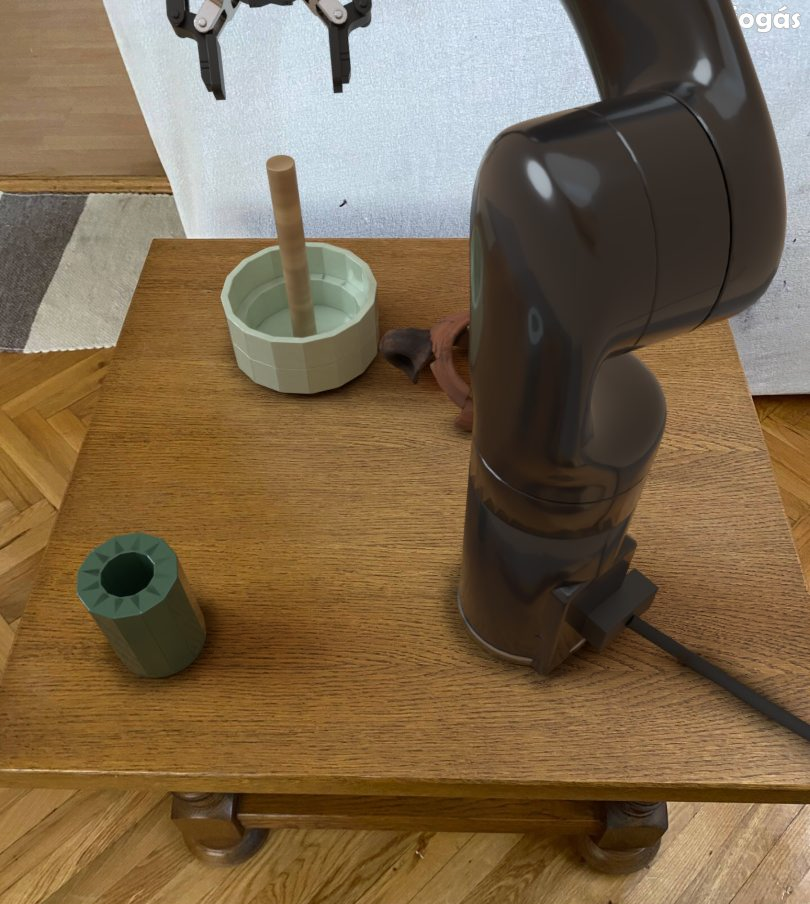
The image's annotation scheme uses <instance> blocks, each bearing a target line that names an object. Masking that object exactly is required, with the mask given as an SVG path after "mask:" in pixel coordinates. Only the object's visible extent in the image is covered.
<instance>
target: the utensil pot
mask: <svg viewBox="0 0 810 904" xmlns="http://www.w3.org/2000/svg"><path fill="white" fill-rule="evenodd" d="M76 596H77V597H78V599H79V601H80V602H81V603H82V605H83V606H84V608H85V609H86V611H87V613H88V614H89V615H90V617H91V618H92V620H93V621H94V623H95V624H96V627H98V629H99V630H100V632H101V633H102V635H103V636H104V638H105V639H106V641H107V642H108V644H109V645H110V647H111V648H112V650H113V651H114V653H115V654H116V655H117V657H118V658H119V659H120V661H121V662H122V664H123V665H124V667H125V668H126V669H128V670H129V671H130V672H132V673H133V674H135V675H137V676H141V677H144V678H150V679H158V678H159V679H160V678H165V677H169V676H172V675H175V674H177V673H180V672H182V671H183V670H185V669H186V668H188V667H189V666H190V665H191V664H192V663H194V662H195V661H196V659H197V658H198V657H199V655H200V653H201V652H202V650H203V648H204V646H205V643H206V639H207V626H206V622H205V617H204V615H203V611H202V609H201V607H200V604H199V603H198V600H197V598H196V595H195V593H194V591H193V589H192V586H191V583H190V582H189V579H188V577H187V575H186V573H185V571H184V568H183V566H182V564H181V561H180V560H179V556H178V555H177V553H176V552H175V551H174V550H173V549H172V547H171V546H170V545H169V544H168V543H167V541H166V540H165V539H164V538H162V537H158V536H155V535H152V534H148V533H144V532H140V531H138V532H133V533H127V534H119V535H114V536H112V537H111V538H109V539H108V540H106V541H104V542H102V543H101V544H99V545H98V546H96V547H94V548H92V549H91V550H90V552H89V553H88V555H87V556H86V557H85V559H84V561H83V562H82V563H81V565H80V567H79V568H78V569H77V573H76Z"/></svg>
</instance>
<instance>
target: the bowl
mask: <svg viewBox="0 0 810 904" xmlns="http://www.w3.org/2000/svg"><path fill="white" fill-rule="evenodd" d="M305 244H306V252H307V259H308V267H309V275H310V282H311V290H312V298H313V306H314V313H315V321H316V329H317V335H313V336H309V337H304V338H296V337H293V331H292V324H291V318H290V312H289V306H288V300H287V293H286V287H285V281H284V275H283V269H282V262H281V256H280V250H279V244H278V245H272V246H268V247H266V248H263V249H261V250H259V251H258V252H255V253H253V254H251V255H250V256H247V257H246V258H244V259H242V260H241V261H240V262H239V263H238V265H236V266H235V267H234V269H232V271H231V272H230V273H228V275H227V276H226V278H225V281H224V284H223V287H222V291H221V294H220V301H221V305H222V309H223V314H224V318H225V321H226V326H227V329H228V330H227V331H228V333H229V338H230V342H231V347H232V350H233V353H234V356H235V360H236V363H237V366H238V369H240V370H241V371H242V372H243V373H244V374H245V375H246V376H247V377H249V379H250V380H252V381H253V382H254V383H255V384H258V385H260V386H263V387H266V388H268V389H271V390H274V391H276V392H279V393H282V394H283V393H285V394H286V393H287V394H306V395H307V394H308V395H310V394H311V395H312V394H317V393H320V392H324V391H328V390H332V389H333V390H334V389H337V388H340V387H342V386H344V385H346V384H347V383H348V382H350V381H352V380H354V379H356V378H357V377H358V376H360V375H362V374H364V372H365V371H366V369H367V368H368V367H369V366H370V364H371V363H372V362H373V361H374V359H375V358H376V357H377V355H378V349H379V343H380V316H379V315H380V314H379V313H380V312H379V296H378V294H379V293H378V282H377V280H376V278H375V276H374V274H373V272H372V269H371V267H370V265H369V264H368V263H367V262H366V261H364V260H363V259H361V258H360V257H359V256H358V255H356V254H354V253H353V252H352V251H351V250H349V249H346V248H343V247H340V246H336V245H333V244H330V243H327V242H318V241H317V242H313V241H312V242H311V241H305Z"/></svg>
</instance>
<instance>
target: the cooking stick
mask: <svg viewBox="0 0 810 904" xmlns="http://www.w3.org/2000/svg"><path fill="white" fill-rule="evenodd" d="M296 167H297V166H296V161H295V159H294V157H292V156H290V155H287V154H277V155H273V156H271V157H269V158H268V159H267V160H266V162H265V168H266V175H267V181H268V186H269V187H268V188H269V194H270V200H271V205H272V211H273V219H274V224H275V230H276V236H277V243H278V245H279V250H280V256H281V262H282V269H283V275H284V281H285V287H286V293H287V300H288V306H289V312H290V318H291V324H292V331H293V337H296V338H304V337H309V336H313V335H317V329H316V321H315V313H314V306H313V298H312V290H311V282H310V275H309V267H308V259H307V252H306V244H305V242H306V237H305V230H304V223H303V213H302V206H301V200H300V192H299V191H300V190H299V182H298V175H297V168H296Z"/></svg>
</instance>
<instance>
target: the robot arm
mask: <svg viewBox="0 0 810 904" xmlns="http://www.w3.org/2000/svg"><path fill="white" fill-rule="evenodd" d="M296 1H297V0H204V1H203V3H202V4H201V6H200V8H199V9H198V12H197V13H194V12H192V11H191V6H190V0H165V12H166V18H167V20H168V22H169V24H170V26H171V28H172V31H174V34H175V36H176V37H178V38H180V39H187V38H188V39H190V40H193V41H195V42H196V44H197V53H198V59H199V60H198V61H199V62H198V63H199V69H200V78H201V80H202V82H203V84H204V87H205V89H206V90H207V92H208V93H212V94H213V97H214V98H215V101H227V94H226V93H227V92H226V85H225V76H224V67H223V58H222V48H221V44H220V42H219V39H220V36H221V34H222V33H223V31H224V29H225V27H226V26H227V24H228V23H229V22H231V21H232V20H233V18H234V17H235V15H236V13H237V11H238V9H239V8H240V6H241V4H242V3H243V4H245V5H248V7H249V9H255V8H256V9H257V8H262V7H265V6H268V5H276V6H281V7H290V6H294V2H296ZM301 1H302V2H303V3H304V4H305V5H306V7H307V8H308V9H309V11H310V12H311V14H313V15H314V16H315V17H317V18H318V19H319V20H320V22H321V23H323V25H324V27H326V28H327V32H328V33H327V34H328V46H329V56H330V58H329V59H330V68H331V69H330V71H331V81H332V91H333V94H343V93H344V85H349V84H350V81H351V78H352V66H351V65H352V64H351V63H352V62H351V53H350V42H349V37H350V34H351V33H352V32H353V31H355V30H357V29H359V28H362V29H365V28H368V27H369V26H370V24H371V23H372V9H373V0H351V1H350V2H347V3H346V4H343V3H341V1H340V0H301ZM558 1H559V3H560V5H561V7H562V8H563V10H564V11H565V13H566V16H567V18H568V20H569V22H570V24H571V26H572V28H573V30H574V32H575V34H576V36H577V39H578V41H579V43H580V47H581V49H582V52H583V54H584V56H585V60H586V62H587V64H588V67H589V70H590V73H591V75H592V79H593V82H594V84H595V88H596V91H597V95H598V97H599V101H596V102H592V103H587V104H584V105H580V106H575V107H572V108H566V109H563V110H559V111H556V112H552V113H548V114H544V115H539V116H535V117H532V118H529V119H526V120H525V119H524V120H522V121H519V122H517V123H515V124H511V125H510V126H508V127H505V128H504V129H503V130H501V131H500V132H498V133H497V135H495V137H494V138H493V139H492V140H491V142H489V144H488V147H487V148H486V150H485V152H483V155H482V157H481V160H480V163H479V165H478V167H477V170H476V175H475V179H474V184H473V188H472V192H471V193H472V194H471V203H470V213H469V238H468V239H469V240H468V243H469V247H468V248H469V249H468V251H469V253H468V254H469V255H468V257H469V258H468V259H469V310H470V323H469V326H468V328H469V349H468V369H469V371H468V372H469V379H470V387H471V393H472V394H471V395H472V396H471V397H472V398H473V405H474V418H473V429H472V430H471V441H470V443H471V444H470V452H469V453H470V454H469V464H468V474H467V475H468V476H467V488H466V502H465V512H464V513H465V514H464V525H463V536H462V547H461V549H462V550H461V558H460V559H461V561H460V574H459V575H460V576H459V579H458V580H459V581H458V584H457V593H456V604H457V605H456V606H457V607H456V608H457V611H458V616H459V619H460V621H461V624H462V626H463V628H464V630H465V631H466V633H467V634H468V635H469V637H470V638H471V639H472V641H473V642H474V643H475V644H476V645H478V646H479V647H480V648H481V649H483V650H484V651H485V652H487V653H488V654H490V655H491V656H493V657H495V658H497V659H499V660H502V661H504V662H507V663H511V664H515V665H522V666H529V667H532V668H533V669H535V670H536V671H537V673H539V674H540V675H541V676H548V675H549V674H550V673H552V672H553V671H554V670H555V669H556V668H557V667H559V666H560V664H562V663H563V662H564V661H565V660H566V659H567V658H569V657H570V656H572V655H574V654H575V653H576V652H577V651H578V650H580V649H581V648H582V647H583V646H584V645H585V644H586V643H589V644H590V645H591V646H592V647H593V648H594V649H596V650H597V652H601V651H603V650H604V649H605V648H606V647H607V646H608V645H609V644H610V643H612V642H614V640H615V639H617V637H619V636H620V635H621V634H622V633H623V632H624V631H625V630H627V629H629V630H631V631H632V632H634V633H635V634H636V635H639V636H640V637H642V638H643V639H645V640H647V642H650V643H651V644H653V645H655V646H656V647H658V648H659V649H661V650H663V651H664V652H665V653H666V654H669V655H670V656H672V657H673V658H676V660H678V661H680V662H681V663H683V664H684V665H686V666H688V667H689V668H691V669H692V670H694V671H695V672H697V673H699V674H700V675H701V676H703V677H705V678H706V679H708V680H710V681H712V682H713V683H715V684H717V685H718V686H719V687H722V688H723V689H724V690H726V691H728V692H729V693H730V694H732V695H734V696H735V697H736V698H738V699H739V700H740V701H743V702H744V703H745V704H747V705H748V706H750V707H752V708H753V709H755V710H756V711H758V712H760V713H761V714H763V715H764V716H766V717H767V718H769V719H771V720H773V721H774V722H776V723H777V724H779V725H781V726H782V727H784V728H786V729H787V730H789V731H791V732H793V733H794V734H796V735H798V736H799V737H801V738H802V739H805V740H806V741H808V742H810V723H808V722H806V721H805V720H803V719H801V718H799V717H797V716H796V715H794V714H792V713H791V712H789V711H787V710H786V709H784V708H782V707H781V706H780V705H778V704H776V703H774V702H773V701H771V700H770V699H767V697H764V696H763V695H761V694H760V693H758V692H756V691H754V690H753V689H751V688H750V687H749V686H747V685H746V684H743V683H742V682H740V681H739V680H737V679H735V678H734V677H733V676H731V675H729V674H728V673H726V672H725V671H723V670H721V669H720V668H718V667H716V666H715V665H713V664H712V663H710V662H709V661H707V660H706V659H704V658H703V657H701V656H700V655H698V654H696V653H695V652H693V651H692V650H690V649H688V648H687V647H685V646H684V645H683V644H681V643H680V642H678V641H677V640H675V639H674V638H672V637H671V636H669V635H667V634H666V633H664V632H663V631H661V630H659V629H658V628H656V627H654V626H653V625H652V624H650V623H649V622H647V621H645V620H643V619H642V618H640V617H641V616H642V615H644V613H646V612H647V611H648V610H649V609H650V608H651V606H652V604H653V602H654V600H655V598H656V596H657V594H658V591H659V589H660V588H659V586H658V585H656V583H654V582H653V581H652V580H651V579H650V578H648V577H647V576H646V575H645V574H643V573H642V572H641V571H639V570H638V569H637V568H636V567H634V568H633V569H631V570H630V571H629V569H630V566H631V564H632V561H633V559H634V556H635V554H636V551H637V549H638V542H637V540H636V539H635V538H633V537H632V536H631V535H629V534H628V531H629V529H630V526H631V524H632V520H633V517H634V515H635V511H636V510H637V507H638V505H639V501H640V499H641V496H642V493H643V490H644V489H645V486H646V483H647V481H648V477H649V474H650V472H651V469H652V466H653V464H654V462H655V460H656V457H657V455H658V452H659V449H660V446H661V444H662V441H663V438H664V434H665V431H666V427H667V420H668V405H667V400H666V396H665V393H664V390H663V388H662V386H661V383H660V381H659V380H658V378H657V376H656V375H655V374H654V372H652V370H651V369H650V368H649V366H648V365H647V364H646V363H645V362H644V361H643V360H641V359H640V358H639V357H638V356H637V355H636V354H634V353H633V352H635V351H637V350H640V349H643V348H647V347H650V346H653V345H657V344H659V343H661V342H665V341H668V340H671V339H674V338H677V337H681V336H682V335H684V334H689V333H693V332H695V331H698V330H701V329H705V328H707V327H710V326H713V325H716V324H719V323H721V322H724V321H726V320H729V319H731V318H732V319H733V317H736V316H738V315H740V314H742V313H743V312H746V311H747V310H749V309H750V308H751V307H753V306H754V305H755V304H756V303H757V302H758V301H759V300H760V299H761V298H762V297H763V296H764V295H765V294H766V292H767V291H768V290H769V287H770V286H771V284H772V282H773V280H774V278H775V276H776V274H777V273H778V270H779V267H780V263H781V259H782V255H783V251H784V247H785V242H786V235H787V223H788V222H787V221H788V210H787V208H788V207H787V193H786V183H785V173H784V168H783V167H784V166H783V163H782V157H781V153H780V148H779V144H778V139H777V135H776V132H775V128H774V124H773V121H772V117H771V114H770V110H769V108H768V104H767V99H766V98H765V93H764V92H763V88H762V85H761V82H760V79H759V76H758V73H757V70H756V67H755V65H754V61H753V59H752V57H751V52H750V49H749V47H748V44H747V41H746V37H745V36H744V33H743V30H742V26H741V24H740V21H739V18H738V16H737V12H736V10H735V7H734V4H733V2H732V0H558Z"/></svg>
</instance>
